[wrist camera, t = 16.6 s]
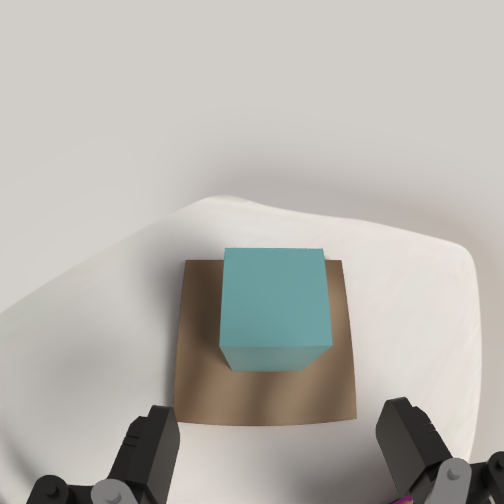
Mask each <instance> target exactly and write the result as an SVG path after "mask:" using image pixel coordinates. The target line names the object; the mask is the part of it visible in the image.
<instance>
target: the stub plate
mask: <svg viewBox="0 0 504 504" xmlns="http://www.w3.org/2000/svg"><path fill="white" fill-rule="evenodd" d="M324 261H325V269H326V278H327V287H328V297H329V307H330V318H331V330H332V344H333V345H332V346H331V347H330V348H329V349H327V350H326V351H325V352H324V353H323V354H322V355H320V356H319V357H318V358H317V359H316V360H314V361H313V362H312V363H311V364H309V365H308V366H307V367H306V368H304V369H303V370H302V371H276V372H248V371H232V369H231V367H230V365H229V363H228V362H227V360H226V358H225V356H224V354H223V352H222V350H221V348H220V346H219V345H220V324H221V305H222V287H223V271H224V260H186V263H185V271H184V279H183V288H182V297H181V306H180V316H179V327H178V339H177V351H176V365H175V381H174V400H173V408H174V411H175V416H176V420H177V422H184V423H195V424H208V425H226V426H284V425H302V424H315V423H326V422H335V421H343V420H351V419H357V417H356V393H355V376H354V363H353V351H352V340H351V330H350V321H349V312H348V304H347V296H346V289H345V282H344V275H343V268H342V262H341V260H324Z"/></svg>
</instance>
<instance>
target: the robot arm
mask: <svg viewBox="0 0 504 504" xmlns="http://www.w3.org/2000/svg"><path fill="white" fill-rule="evenodd" d="M376 438H377V440H378V443H379V445H380V448H381V450H382V452H383V455H384V457H385V460H386V462H387V465H388V467H389V470H390V472H391V475H392V477H393V480H394V482H395V485H396V487H397V490H398V493H399V495H400V498H404V497H407V496H410V495H411V497H412V501H411V502H410V504H492V503H491V501H490V499H489V497H490V496H492V498H493V500H494V502H495V504H504V452H502V451H500V452H496V453H494V454H493V455H492V456H491V457H490V458H489V460H488V461H487V462H482V463H475V464H468V463H467V462H466V461H465V460H463V459H460V458H453V457H452V455H451V454H450V452H449V450H448V448H447V447H446V445H445V443H444V442H443V440H442V439H441V437H440V435H439V434H438V432H437V431H436V429H435V427H434V426H433V424H431V421H430V419H429V418H428V416H427V414H426V413H425V412H423V411H422V410H421V409H420V408H418V407H417V406H415V407H412V405H411V404H410V402H409V401H408V399H407V398H406V397H400V398H395V399H390V400H387V401H386V402H385V404H384V407H383V409H382V412H381V415H380V417H379V420H378V422H377V425H376ZM179 445H180V432H179V428H178V424H177V420H176V416H175V411H174V408H173V407H165V406H157V405H153V406H152V407H151V409H150V412H149V414H148V417H142V416H139V417H138V418H137V419H136V420H135V421H133V422H132V423H131V424H130V426H129V428H128V431H127V433H126V437H125V438H124V440H123V442H122V445H121V447H120V449H119V452H118V454H117V457H116V459H115V461H114V464H113V466H112V469H111V471H110V474H109V475H108V477H107V478H106V479H105V480H102V481H99V482H98V483H96V484H95V485H93V486H79V485H67V484H66V482H65V481H64V480H63V479H61V478H60V477H58V476H55V475H46V476H43V477H41V478H39V479H38V480H37V481H36V483H35V485H34V487H33V489H32V492H31V494H30V496H29V498H28V500H27V503H26V504H166V501H167V497H168V492H169V488H170V484H171V479H172V475H173V471H174V467H175V462H176V458H177V454H178V450H179Z"/></svg>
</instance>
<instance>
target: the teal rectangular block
mask: <svg viewBox="0 0 504 504" xmlns="http://www.w3.org/2000/svg"><path fill="white" fill-rule="evenodd" d="M332 345H333V344H332V330H331V318H330V307H329V297H328V287H327V278H326V269H325V261H324V253H323V249H296V248H225V256H224V271H223V287H222V305H221V324H220V345H219V346H220V348H221V350H222V352H223V354H224V356H225V358H226V360H227V362H228V363H229V365H230V367H231V369H232V371H248V372H276V371H302V370H303V369H304V368H306V367H307V366H308V365H309V364H311V363H312V362H313V361H314V360H316V359H317V358H318V357H319V356H320V355H322V354H323V353H324V352H325V351H326V350H327V349H329V348H330V347H331V346H332Z"/></svg>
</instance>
